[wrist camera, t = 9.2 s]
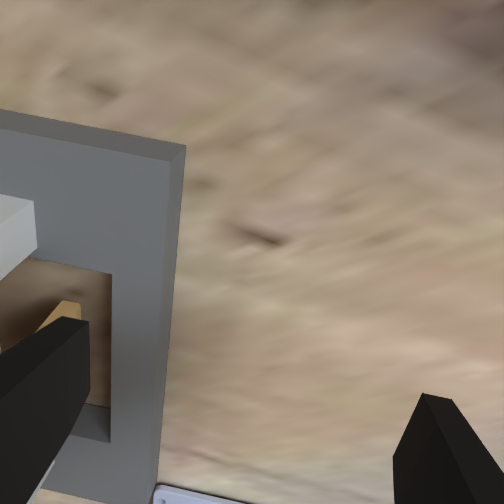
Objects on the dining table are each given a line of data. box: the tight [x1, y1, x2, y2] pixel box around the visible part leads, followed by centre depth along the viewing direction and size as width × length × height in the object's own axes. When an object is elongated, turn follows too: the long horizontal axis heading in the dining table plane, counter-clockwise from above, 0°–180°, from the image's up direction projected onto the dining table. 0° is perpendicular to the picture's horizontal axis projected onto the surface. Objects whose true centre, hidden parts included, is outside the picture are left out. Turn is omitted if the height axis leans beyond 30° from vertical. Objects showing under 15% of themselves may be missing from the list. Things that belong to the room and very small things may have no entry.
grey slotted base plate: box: [0, 109, 186, 504], centre depth 21 cm, size 20×12×5 cm, turn 171°
